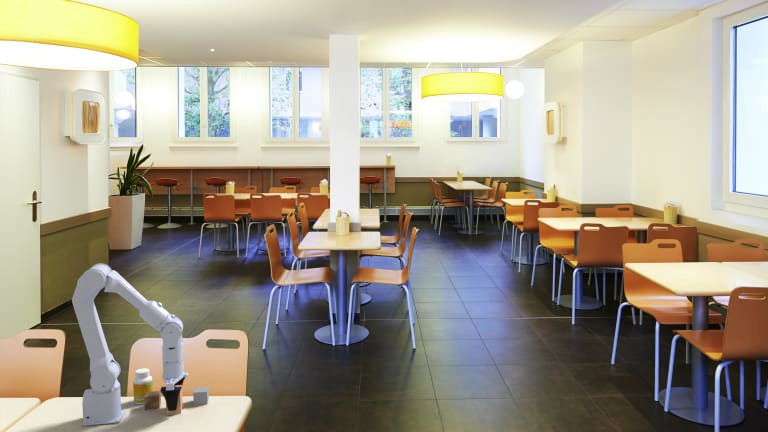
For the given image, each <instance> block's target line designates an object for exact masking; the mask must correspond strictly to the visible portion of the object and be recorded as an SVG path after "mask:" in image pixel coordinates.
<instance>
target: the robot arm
mask: <svg viewBox="0 0 768 432" xmlns="http://www.w3.org/2000/svg"><path fill="white" fill-rule="evenodd" d="M103 289H104V293H116V294H118V295H119V296H120V297H122V298H123V299H124V300H126V301H127V302H128V303H130V304H131V305H132V306H134V307H135V308H136V309H138V311H139V317H140V318H142V320H144V321H145V322H146V323H148V325H150V326H151V327H152V328H153V329H154V330H155V331H158V332H159V336H160V337H161V339H162V345H161V350H162V351H161V354H162V380H163V382H164V383H165V386H161V387H160V391H161V394H162V396H163V398H164V399H165V405H166V404H167V408H168V411H175V410H176V409H177V404H178V397H179V393H180V391H181V388H182V389H183V384H184V381H185V379H186V377H188V376H189V372H187V371H185V369H184V368H185V365H184V343H183V329H184V323H183V321H182V320H181V319H180V317H178V316H176V315H175V314H173V313H172V314H171V313H170V312H169V311H168V310H166V309H165V308H164V307H163V304H162V303H161V301H158V302H157V301H155V300H147V299H146V298H145V297H144V296H143V295H142V294H141V293H140V292H139V291H138V290H136V289H135V287H134V286H132V285H131V284H130V283H129V282H128V281H127V280H126V279H125V278H124V277H123V276H122V275H120V273H119V272H117V271H116V270H114V269H113V270H112V268H111V266H109V265H108V264H106V263H96V264H94V265H92V266H91V267H90V268H89V269H87V270H86V271H84V272H83V274H82V275H81V276H80V277H78V279H77V283H76V286H75V289H74V292H73V296H72V298H71V302H72V305H73V309H74V313H75V315H76V319H77V322H78V325H79V328H80V332H81V334H82V339H83V342H84V344H85V345H84V346H85V348H86V351H87V354H88V357H89V372H90V379H89V383H90V385H89V386H90V388H89V389H85V390H84V392H83V394H82V395H83V396H82V405H81V406H82V421H83V422H82V427H83V426H84V427H86V426H96V425H108V424H118V423H120V421H121V420H122V419H123V416H124V415H125V413H126V409H122V398H121V393H122V392H121V383H120V382H119V380H118V378H119V376H120V374H121V366H120V364H119V363H118V362H117V361H116V360H115V359H114V356H113V354H112V353H111V352H110V350H109V347H108V343H107V340H106V337H105V333H104V330H103V328H102V323H101V321H100V317H99V314H98V311H97V307H96V305H95V301H94V300H95V298H96V297H97V295H98V294H99V292H100V291H101V290H103ZM176 385H182V386H181V387H176Z"/></svg>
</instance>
